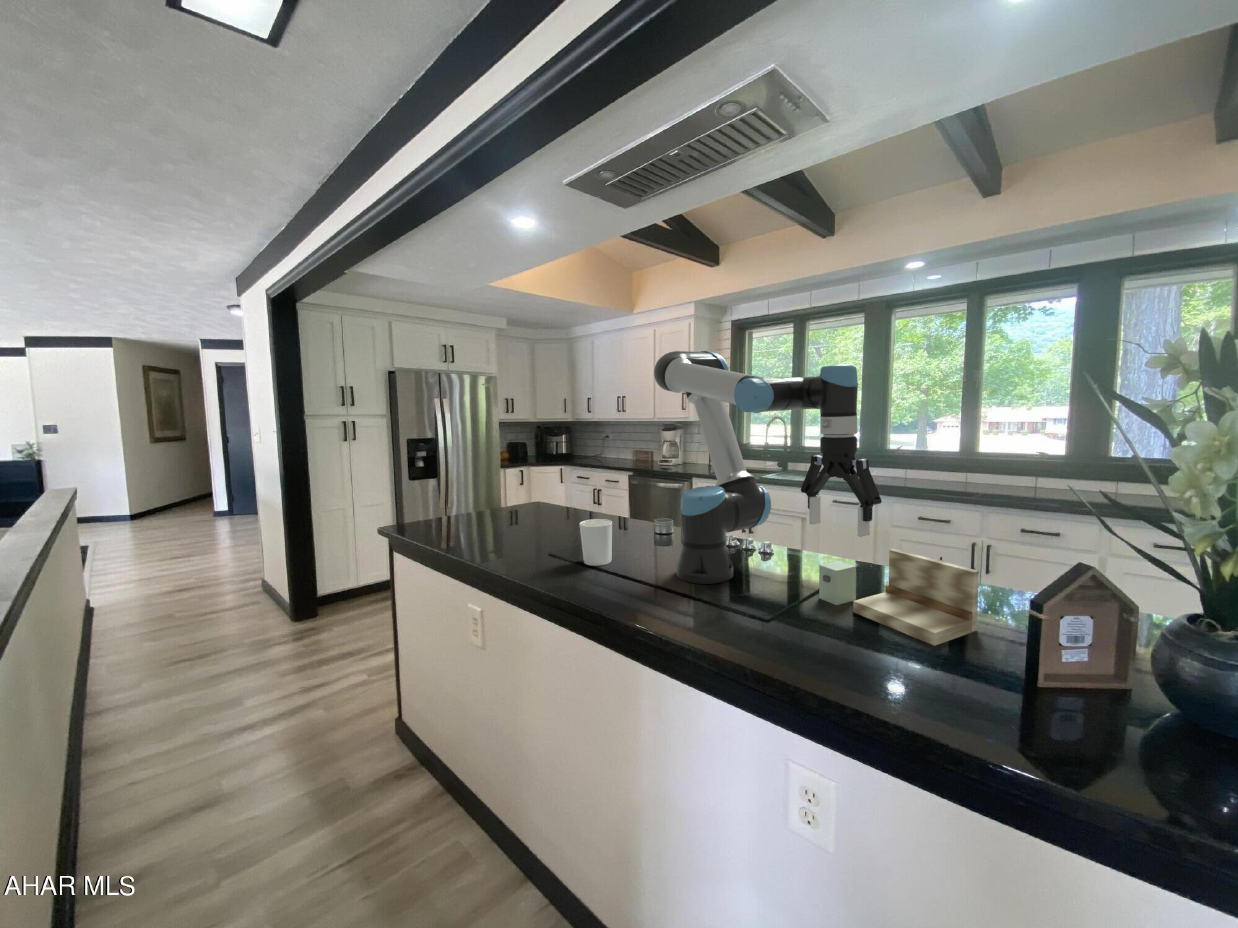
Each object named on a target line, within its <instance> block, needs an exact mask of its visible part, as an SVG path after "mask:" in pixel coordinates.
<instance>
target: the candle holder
mask: <svg viewBox="0 0 1238 928" xmlns="http://www.w3.org/2000/svg"><path fill="white" fill-rule="evenodd" d="M578 525H579V529H580V530H579V532H580V540H581V549H582V558H583V559H582V560H583V563H584V564H585V565H587V566H591V567H592V566H595V567H598V566H604V565H608V564H610V563H611V562H612V557H613V555H612V553H613V551H612V550H613V521H612V520H611V519H606V518H592V519H586V520H583V521H580V522H579V524H578Z"/></svg>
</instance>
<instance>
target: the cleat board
mask: <svg viewBox="0 0 1238 928" xmlns="http://www.w3.org/2000/svg"><path fill="white" fill-rule="evenodd" d="M888 551H889V552H888V557H889V558H888V584H886V585H885V592H881V593H877V594H874V595H870V596H866V597H863V598H860V599H856V600H854V601H852V603H853V605H852V606H853V607H852V609H853V611H852V612H853V613H854V614H857V615H859V616H862V617H864V618H866V619H869V620H872V621H874V622H877V623H879V624H880V625H884V626H886V627H888V628H891V629H892V630H893V629H894V630H896V631H898V632H899V633H904V634H906V635H908V636H910V637H913V638H914V639H916V640H920V641H922V642H924V643H926V644H930V645H932V646H934V647H935V646H938V645H941V644H944V643H946V642H949V641H952V640H955V639H957V638H960V637H964V636H966V635H968V634H969V635H970V634H971V633H975V632H977V631H978V630H977V627H978V603H979V602H978V600H979V581H980V580H979V579H980V578H979V576H980V571H979V570H977V569H972V568H969V567H965V566H961V565H957V564H954V563H950V562H945V561H944V560H942V561H939V560H940V559H934V558H932V557H931V558H930V557H927V556H923V555H919V554H915V553H911V552H907V551H904V550H900V549H896V548H892V549H888Z"/></svg>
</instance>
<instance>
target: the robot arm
mask: <svg viewBox="0 0 1238 928" xmlns="http://www.w3.org/2000/svg"><path fill="white" fill-rule="evenodd" d="M653 373H654V374H653V376H654V380H655V382H656V384H657V385H658V386H659V387H660V388H661V389H662V390H664V391H667V392H672V393H675V394H680V393H683V392H684V393H685V395H686V399H687V402H688V403H690V404H692V405H694V407H695V410H696V415H697V418H698V420H699V424H700V426H701V427H700V428H701V430H702V434H703V437H704V440H705V444H706V446H707V451H708V454H709V457H710V460H711V464H712V467H713V470H714V474H715V477H716V483H715V485H705V486H697V487H694V488H691V489H688V490H686V491H685V492H684V493H682V495H681V499H680V508H679V510H680V511H679V512H680V515H681V517H680V518H681V520H680V521H681V523H680V524H681V550H680V553H679V557H678V560H677V564H676V565H675V566H676V577H677V578H678V579H680V580H682V581H684V582H687V583H692V584H702V585H711V584H719V583H724V582H727V581H729V580H731V579H732V578H733V577H734V566H733V563H732V561H731V557H730V554H729V552H728V549H727V533H731V532H732V533H733V532H736V531H741V530H746V529H747V530H750V529H754V528H755V527H759V526H761V525H763V524H764V523H765V522H766V521H767V520H768V519H769V516H770V514H771V512H772V498H771V495H770V493H769V491H768V490H767V488H765V487H764V486H762V485H760V484H757V481H756V478H755V476H754V475H753V474H751V473H749V472H748V471H747V468H746V465H745V462H744V459H743V455H742V451H741V449H740V446H739V442H738V440H737V437H736V433H735V431H734V426H733V424H732V421H731V418H730V414H729V411H728V407H727V405H726V403H727V404H730V405H731V404H732V405H734V406H736V407H738V408H739V410H740V411H741V412H744V413H754V414H759V413H764V412H767V413H768V412H779V411H798V410H820V411H819V413H820V417H819V419H820V435H822V436H821V438H820V441H819V443H820V445H819V447H820V449H819V451H820V453H821V454H817V455H816V454H815V455H811V457H810V465H809V467H808V471H807V472H806V474H805V477H804V480H803V482H802V485H801V487H800V491H801V493H803V494H806V497H807V508H808V510H809V525H818V524H821V496H820V492H821V490H823V488H824V486H825V485H826V484H827V482H828V481H829V480H830V478H836V479H843V480H844V482H846V483H847V485H848V486H849V487H850V489H851V491H852V492H853V494H854V496H855V497H856V499H857V501H858V502H859V505H858V506H857V537H860V538H863V537H866V536H870V534H871V533H870V530H871V529H870V528H871V526H870V523H871V522H872V521H873V508H874V506H875V505H881V504H882V498H881V496H880V493H879V490H878V489H877V485H876V483H875V481H874V478H873V476H872V473H871V471H870V466H869V465H870V464H869V460H868V459H867V458H861V459H856V453H857V452H858V437H857V436H855V435H856V434H858V412H857V409H858V388H859V382H858V369H857V367H856V366H855V365H854V364H850V363H849V364H848V363H847V364H833V365H825V366H824V365H823V366H822V367H821V368H820V372H819V375H816V376H800V377H797V376H795V377H762V376H757V375H751V374H748V373H747V374H746V373H742V372H736V371H731V370H729V367H728V363H727V362H726V359H725V358H724V357H723V356H722V355H720V353H717V352H715V351H714V352H713V351H708V350H702V351H684V350H682V351H681V350H679V351H678V350H675V351H670V352H667V353H664V354H663V355H662V356H661V357H659V359H658V360H657V361H656V364H655V366H654V369H653ZM822 466H823V467H822Z"/></svg>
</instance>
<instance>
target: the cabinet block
mask: <svg viewBox="0 0 1238 928" xmlns="http://www.w3.org/2000/svg"><path fill="white" fill-rule="evenodd" d="M818 565H819V571H818V573H819V576H818V577H819V578H818V581H819V582H818V583H819V585H818V586H819V587H818V588H819V591H818V592H819V596H818V597H819V599H820V600H823V601H825V602H828V603H830V604H833V606H834V605H835V606H839V605H842V604H847V603H850V602H853V601H855V600H857V566H856V565H854V564H850V563H847V562H843V561H841V560H834V561H830V562H827V563H825V562H824V563H821V564H818Z"/></svg>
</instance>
